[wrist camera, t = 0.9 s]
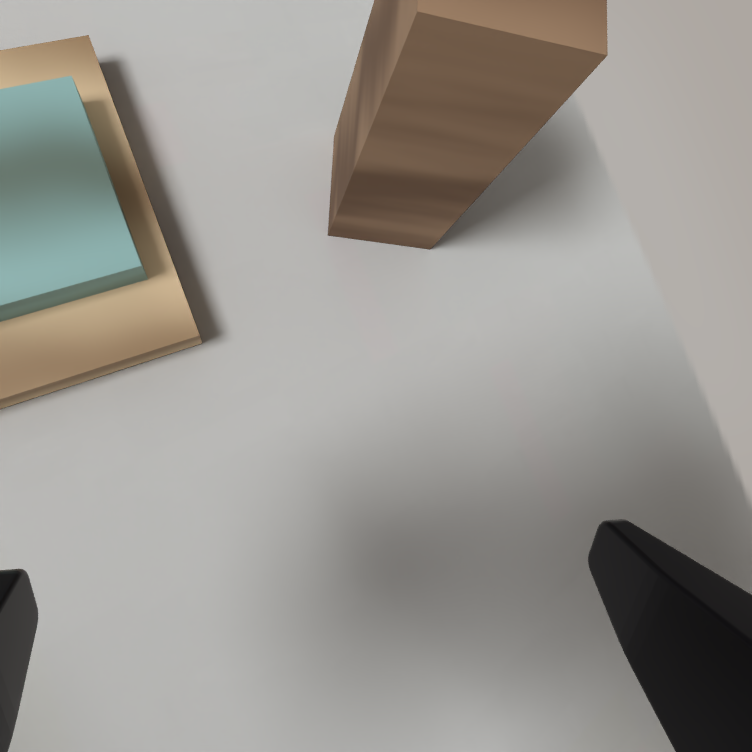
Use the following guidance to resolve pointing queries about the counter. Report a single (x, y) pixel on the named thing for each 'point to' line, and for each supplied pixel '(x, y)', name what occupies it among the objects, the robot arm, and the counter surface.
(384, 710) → the counter surface
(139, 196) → the plinth
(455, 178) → the pillar
